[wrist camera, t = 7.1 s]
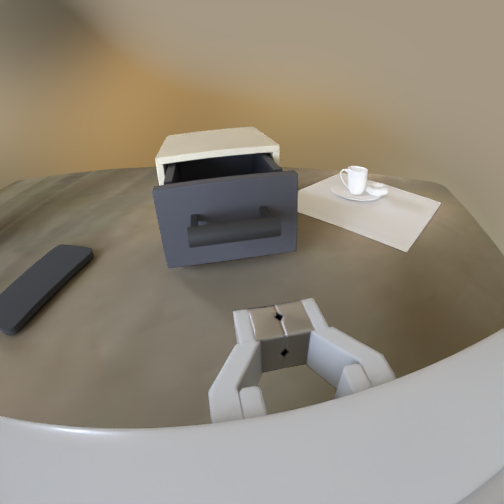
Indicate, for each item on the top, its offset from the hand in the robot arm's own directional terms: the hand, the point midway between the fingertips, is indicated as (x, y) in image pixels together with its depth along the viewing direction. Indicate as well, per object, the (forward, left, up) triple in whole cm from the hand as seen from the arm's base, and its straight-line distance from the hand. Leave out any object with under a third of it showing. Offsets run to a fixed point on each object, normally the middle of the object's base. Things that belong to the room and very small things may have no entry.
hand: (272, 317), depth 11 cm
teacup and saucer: (+21, +28, -9) cm, 36 cm away
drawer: (0, +21, -8) cm, 22 cm away
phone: (-22, +17, -9) cm, 29 cm away
